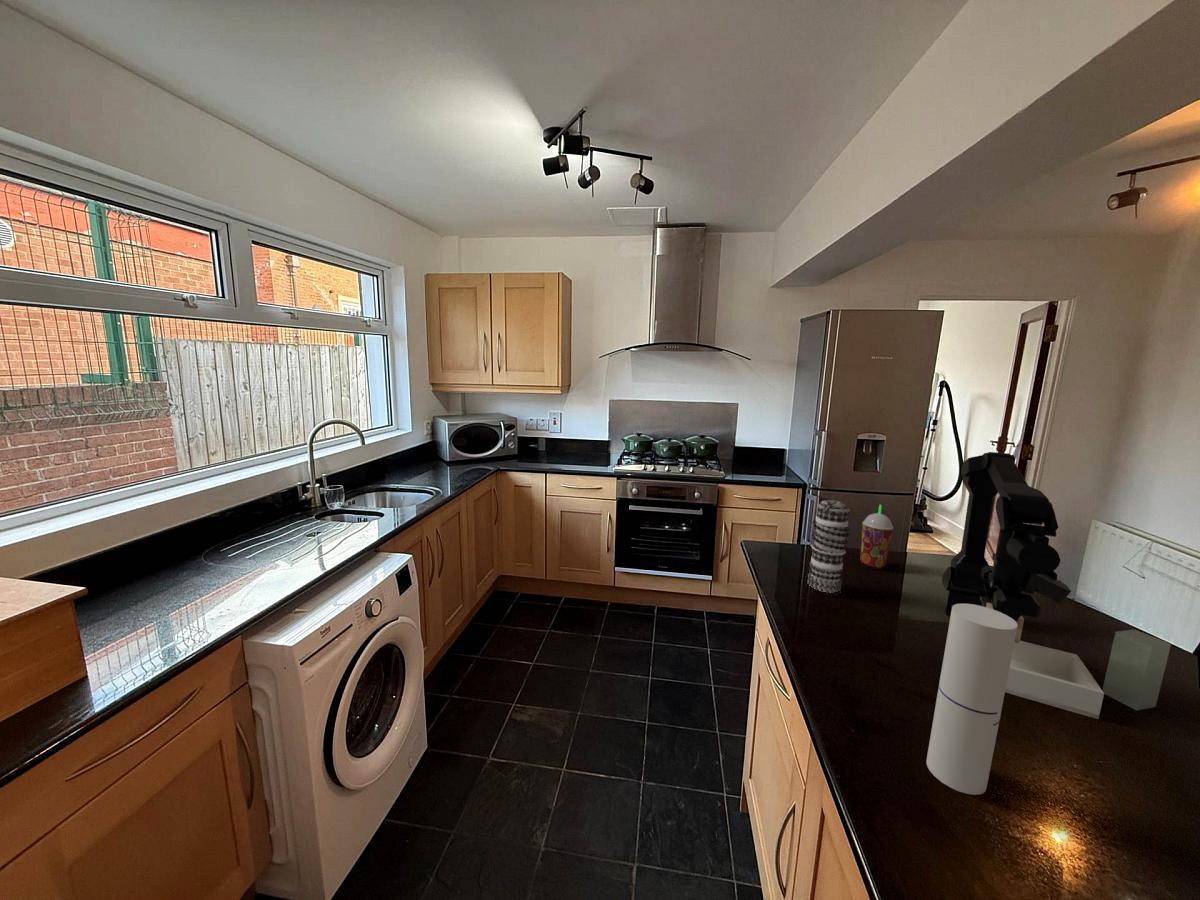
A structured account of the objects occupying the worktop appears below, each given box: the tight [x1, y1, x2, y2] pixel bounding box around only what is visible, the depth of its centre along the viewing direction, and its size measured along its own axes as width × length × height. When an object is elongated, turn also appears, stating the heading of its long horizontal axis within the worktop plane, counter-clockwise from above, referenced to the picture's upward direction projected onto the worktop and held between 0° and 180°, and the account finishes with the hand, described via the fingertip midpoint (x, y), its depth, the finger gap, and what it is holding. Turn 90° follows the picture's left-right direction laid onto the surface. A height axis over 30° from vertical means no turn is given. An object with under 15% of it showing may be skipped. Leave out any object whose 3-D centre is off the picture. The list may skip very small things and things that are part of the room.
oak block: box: [985, 601, 1025, 643], centre depth 95 cm, size 5×5×5 cm
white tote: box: [1005, 640, 1105, 720], centre depth 93 cm, size 18×14×5 cm
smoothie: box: [859, 504, 894, 568], centre depth 147 cm, size 8×8×20 cm
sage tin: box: [1101, 628, 1172, 711], centre depth 87 cm, size 5×5×12 cm
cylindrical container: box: [926, 604, 1018, 796], centre depth 68 cm, size 7×7×25 cm
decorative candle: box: [806, 499, 851, 593], centre depth 128 cm, size 9×9×25 cm
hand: (1000, 628), depth 96 cm, fingers closed on oak block, 5 cm apart
